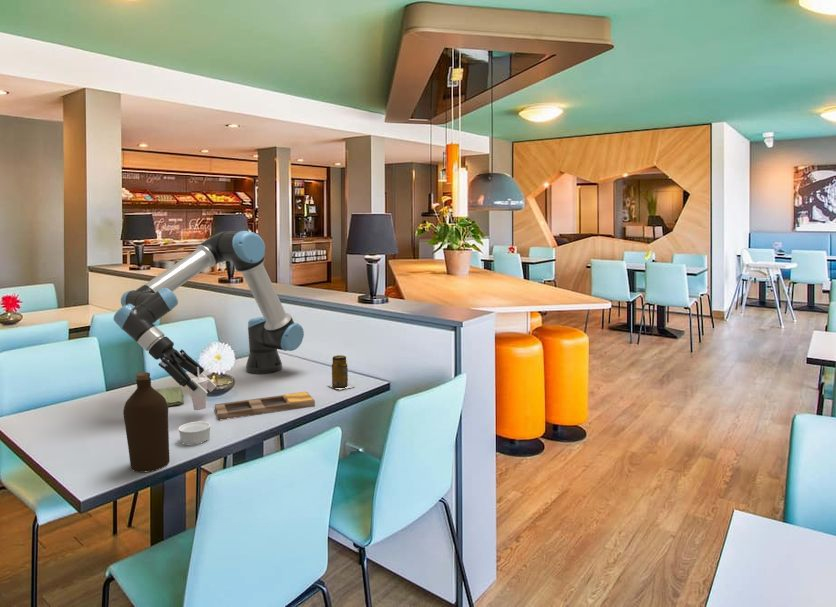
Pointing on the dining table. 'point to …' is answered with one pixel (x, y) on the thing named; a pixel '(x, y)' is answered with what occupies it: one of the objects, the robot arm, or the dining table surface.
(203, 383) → the smoothie
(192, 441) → the ramekin
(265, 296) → the robot arm
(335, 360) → the condiment
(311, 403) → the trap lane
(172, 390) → the washcloth
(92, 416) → the dining table surface
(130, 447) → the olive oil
